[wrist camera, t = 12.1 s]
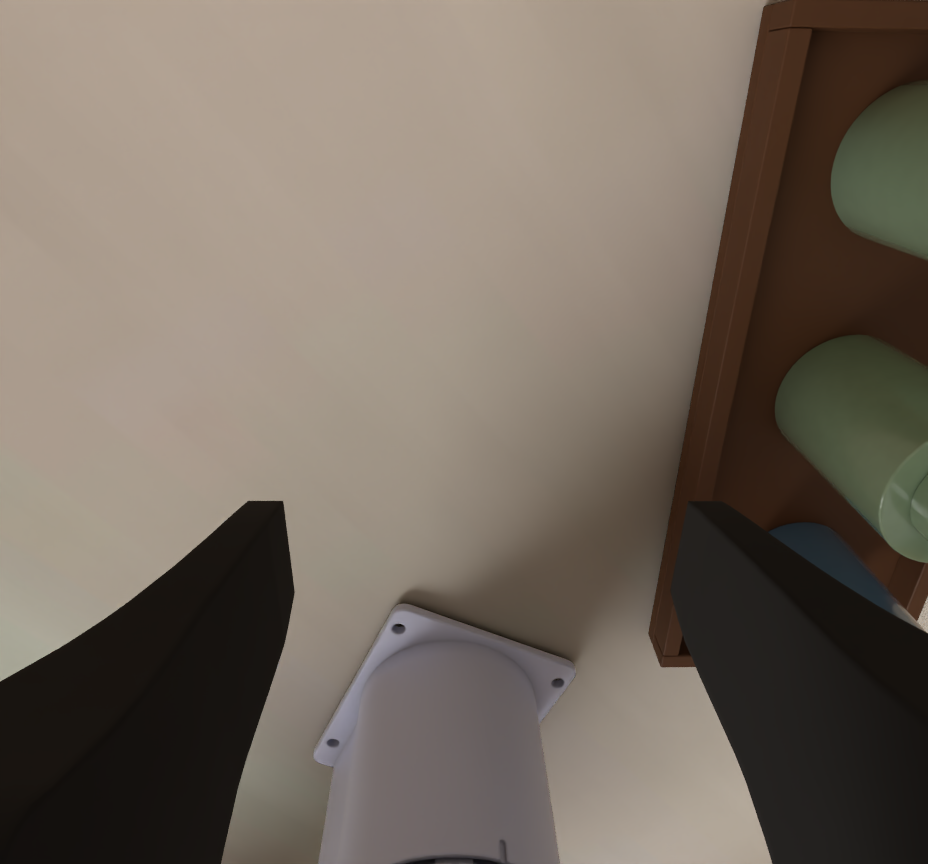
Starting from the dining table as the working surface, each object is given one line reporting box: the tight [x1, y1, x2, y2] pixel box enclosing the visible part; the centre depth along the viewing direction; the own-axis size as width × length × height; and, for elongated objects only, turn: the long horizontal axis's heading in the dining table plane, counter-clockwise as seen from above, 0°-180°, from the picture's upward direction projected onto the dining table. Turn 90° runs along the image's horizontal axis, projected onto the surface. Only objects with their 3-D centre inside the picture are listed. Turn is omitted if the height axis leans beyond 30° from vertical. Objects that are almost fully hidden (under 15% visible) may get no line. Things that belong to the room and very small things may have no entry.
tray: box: [648, 0, 928, 667], centre depth 22 cm, size 21×9×2 cm, turn 179°
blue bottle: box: [768, 522, 927, 633], centre depth 21 cm, size 4×4×9 cm
